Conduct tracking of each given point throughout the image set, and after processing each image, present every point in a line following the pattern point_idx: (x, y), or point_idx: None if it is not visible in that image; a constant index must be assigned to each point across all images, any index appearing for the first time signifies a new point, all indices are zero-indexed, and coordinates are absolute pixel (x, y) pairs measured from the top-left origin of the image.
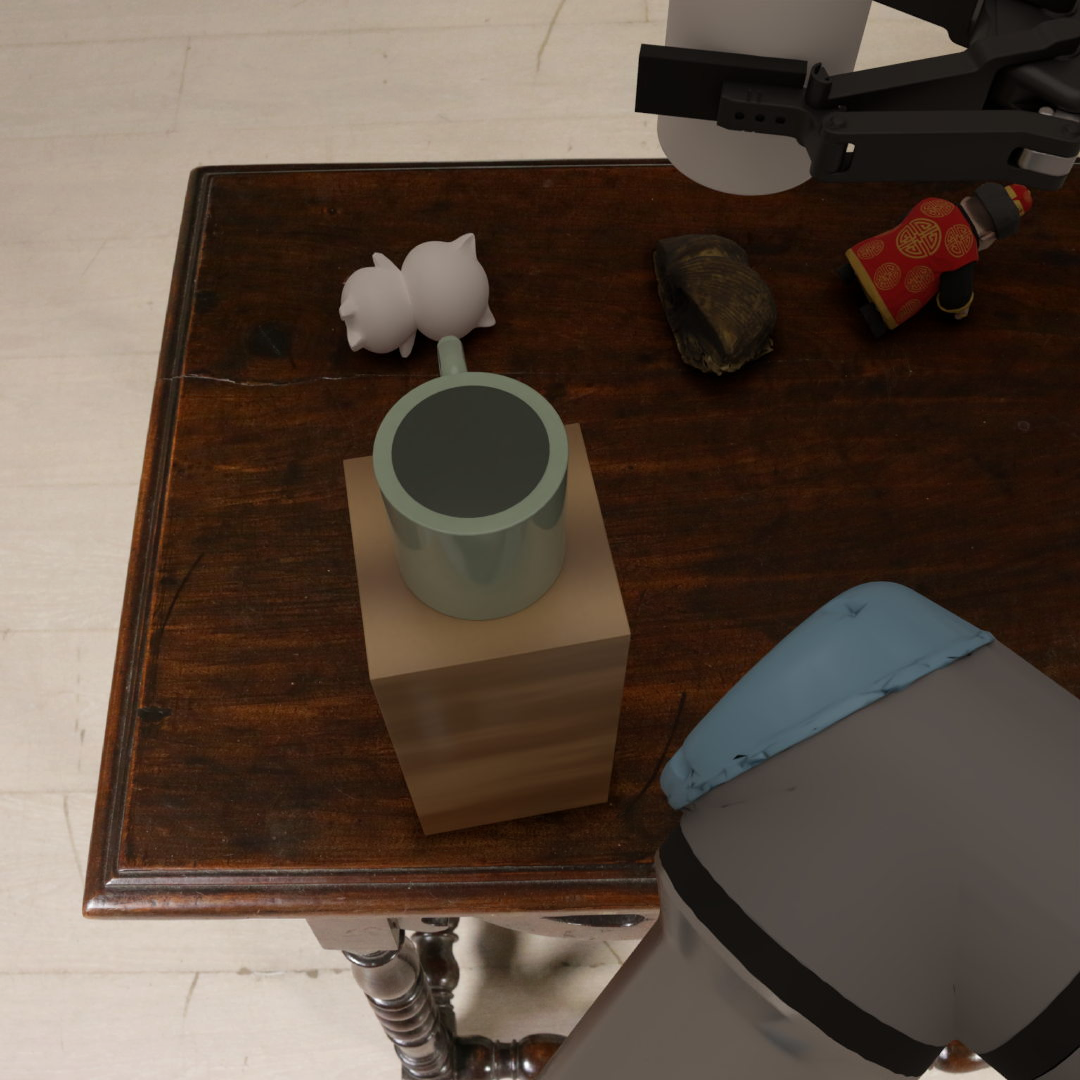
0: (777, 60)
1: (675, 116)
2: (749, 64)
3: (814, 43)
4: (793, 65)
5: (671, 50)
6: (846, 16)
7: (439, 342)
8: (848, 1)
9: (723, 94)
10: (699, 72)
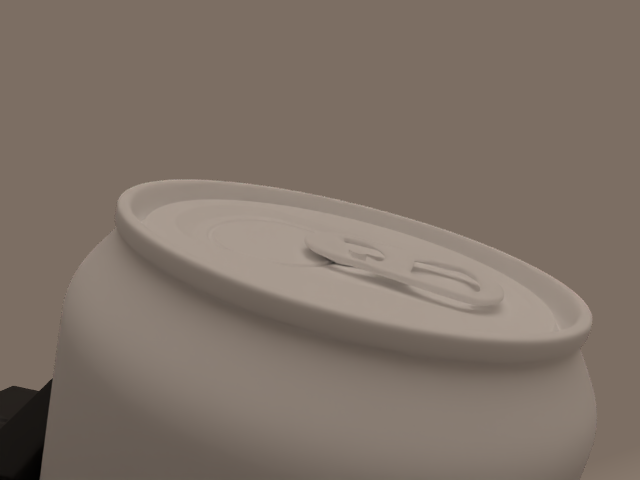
0: (42, 428)
1: None
2: (50, 390)
3: (43, 464)
4: (11, 452)
5: None
6: (69, 477)
7: None
8: (74, 423)
9: (17, 390)
10: None
